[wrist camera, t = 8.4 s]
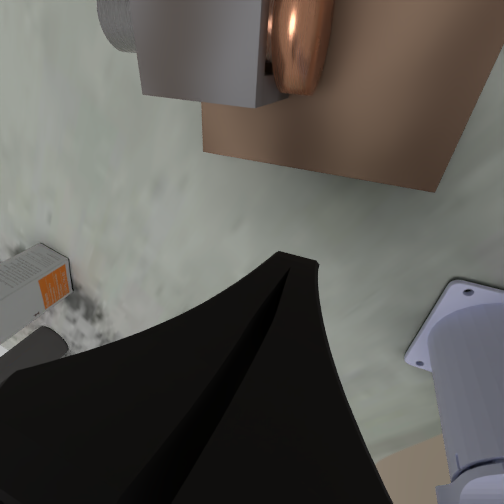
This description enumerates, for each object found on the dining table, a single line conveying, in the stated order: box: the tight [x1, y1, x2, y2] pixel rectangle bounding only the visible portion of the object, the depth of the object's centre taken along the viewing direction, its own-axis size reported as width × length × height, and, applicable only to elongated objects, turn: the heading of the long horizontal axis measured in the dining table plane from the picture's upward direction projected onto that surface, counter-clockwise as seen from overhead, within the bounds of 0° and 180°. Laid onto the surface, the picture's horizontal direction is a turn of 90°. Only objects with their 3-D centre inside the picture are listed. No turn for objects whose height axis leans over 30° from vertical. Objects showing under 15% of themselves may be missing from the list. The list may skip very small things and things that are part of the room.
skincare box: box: [0, 243, 73, 344], centre depth 29 cm, size 6×4×12 cm
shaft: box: [97, 0, 335, 96], centre depth 11 cm, size 9×4×4 cm, turn 87°
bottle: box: [0, 327, 68, 383], centre depth 40 cm, size 6×6×15 cm
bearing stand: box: [129, 0, 504, 193], centre depth 11 cm, size 13×12×6 cm
